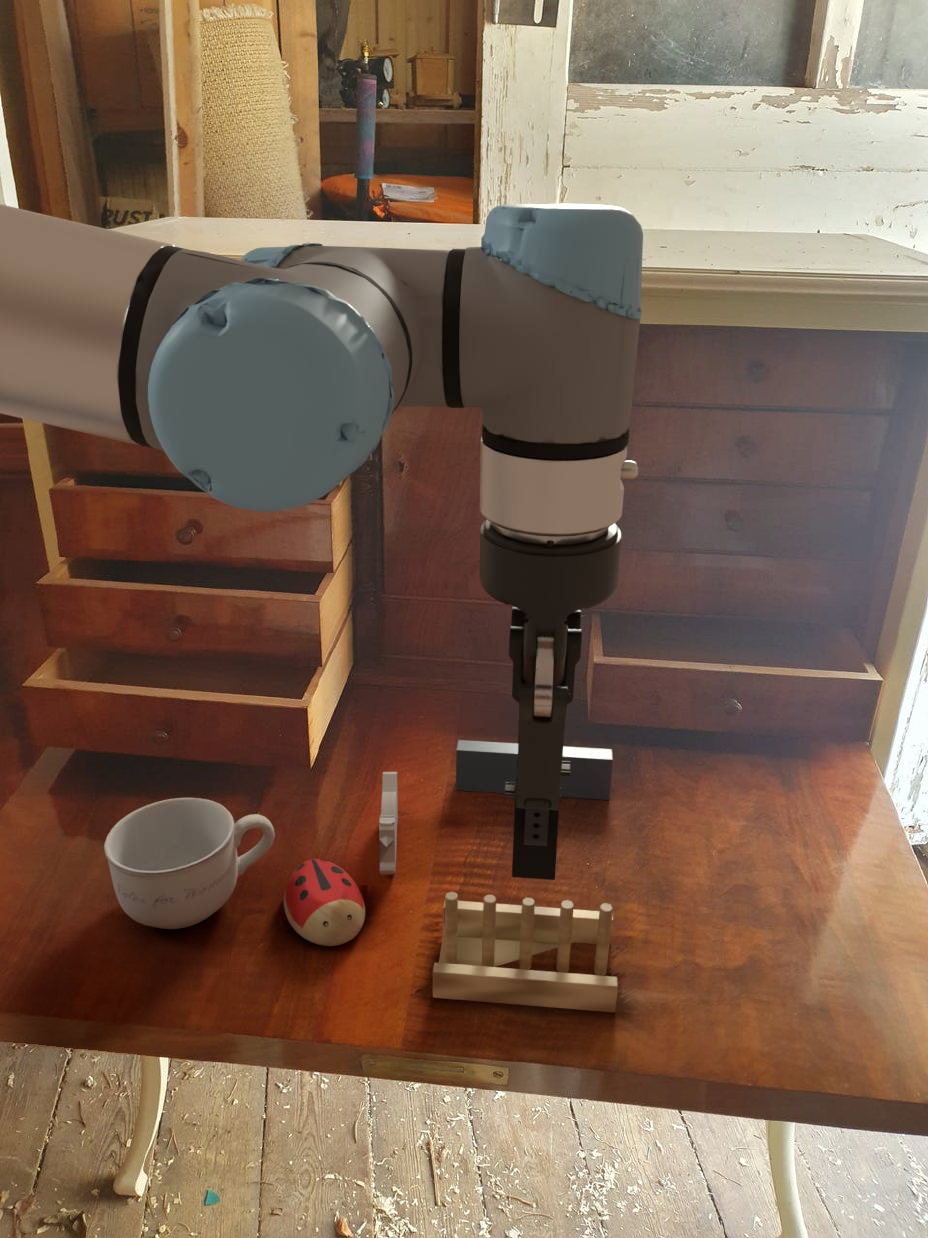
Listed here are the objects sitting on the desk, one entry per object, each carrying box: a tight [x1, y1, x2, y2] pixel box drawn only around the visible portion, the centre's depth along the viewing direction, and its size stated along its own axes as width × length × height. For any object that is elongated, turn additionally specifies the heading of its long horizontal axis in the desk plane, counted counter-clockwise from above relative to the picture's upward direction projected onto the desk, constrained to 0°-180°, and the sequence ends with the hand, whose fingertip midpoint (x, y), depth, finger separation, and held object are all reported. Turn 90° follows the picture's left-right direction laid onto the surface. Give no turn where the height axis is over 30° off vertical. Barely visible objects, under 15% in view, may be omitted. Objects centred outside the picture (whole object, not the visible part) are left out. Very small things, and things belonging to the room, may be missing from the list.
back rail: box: [455, 739, 614, 801], centre depth 100 cm, size 16×2×5 cm, turn 85°
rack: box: [432, 891, 619, 1013], centre depth 76 cm, size 14×8×8 cm, turn 85°
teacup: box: [103, 797, 276, 930], centre depth 84 cm, size 14×11×8 cm
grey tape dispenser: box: [378, 771, 399, 875], centre depth 91 cm, size 6×1×10 cm
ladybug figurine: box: [283, 858, 366, 947], centre depth 84 cm, size 7×10×4 cm
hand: (533, 870), depth 61 cm, fingers closed
